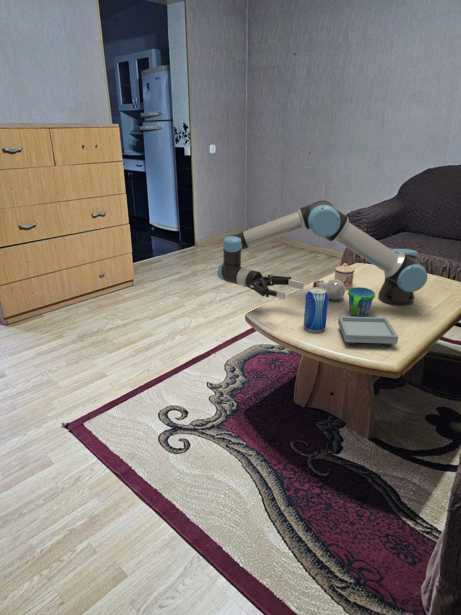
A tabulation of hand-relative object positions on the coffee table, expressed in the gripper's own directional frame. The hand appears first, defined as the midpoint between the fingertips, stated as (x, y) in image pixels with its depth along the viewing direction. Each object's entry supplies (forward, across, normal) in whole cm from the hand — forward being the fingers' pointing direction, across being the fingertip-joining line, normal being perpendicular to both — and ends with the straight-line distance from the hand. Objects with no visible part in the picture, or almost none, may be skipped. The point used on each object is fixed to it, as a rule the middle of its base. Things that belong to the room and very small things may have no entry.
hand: (294, 290), depth 170 cm
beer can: (+10, 0, -14) cm, 17 cm away
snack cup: (+18, -24, -13) cm, 33 cm away
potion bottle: (-1, -33, -13) cm, 36 cm away
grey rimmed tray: (+29, -5, -13) cm, 32 cm away
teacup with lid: (-2, -52, -13) cm, 54 cm away
